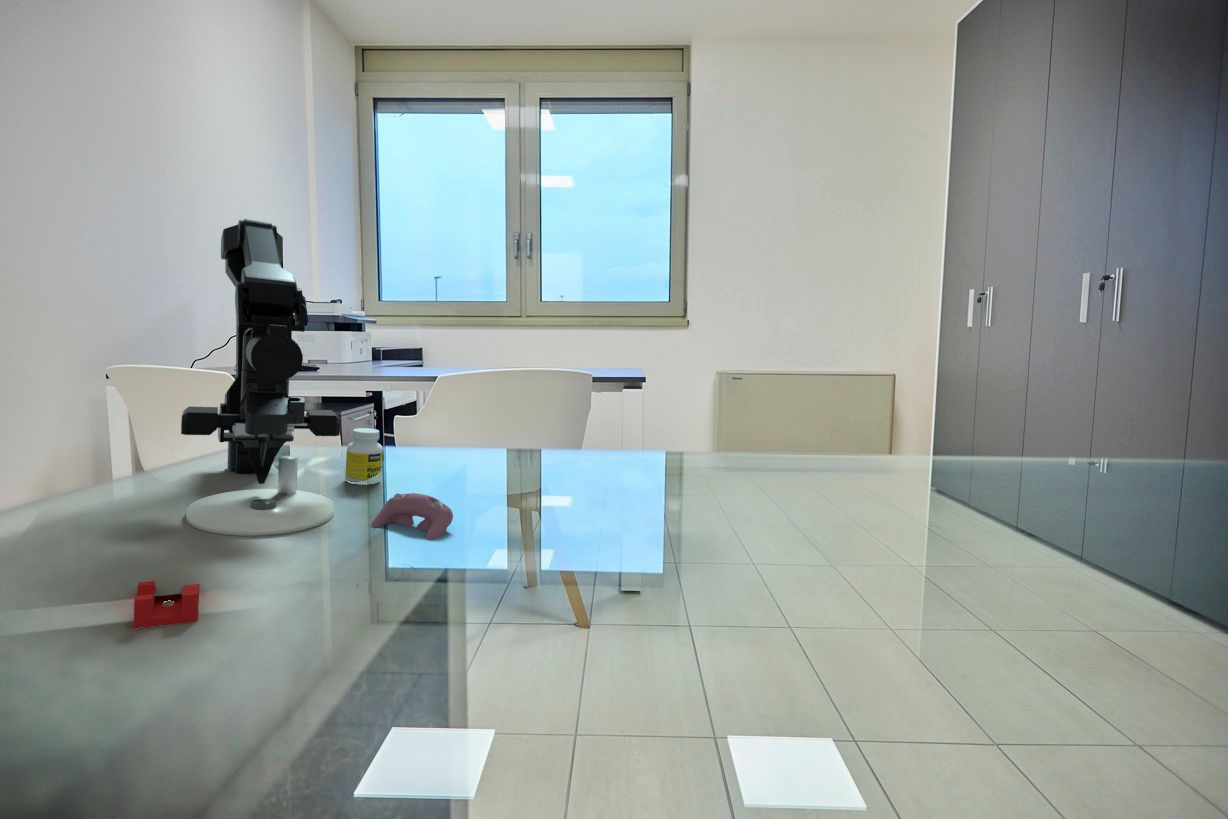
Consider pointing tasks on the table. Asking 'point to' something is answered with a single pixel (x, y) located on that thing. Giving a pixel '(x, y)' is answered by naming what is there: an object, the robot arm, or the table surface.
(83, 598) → the table surface
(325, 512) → the dial
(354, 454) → the supplement bottle
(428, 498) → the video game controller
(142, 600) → the bracket
